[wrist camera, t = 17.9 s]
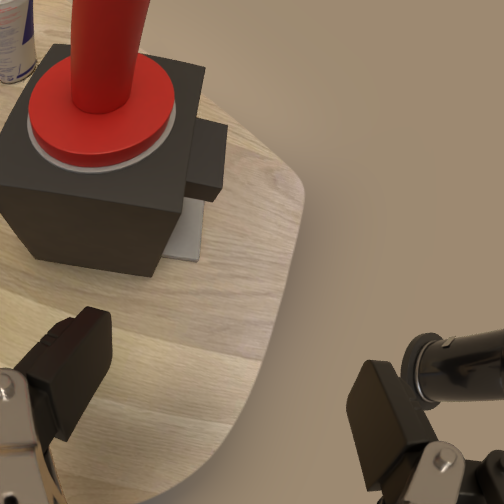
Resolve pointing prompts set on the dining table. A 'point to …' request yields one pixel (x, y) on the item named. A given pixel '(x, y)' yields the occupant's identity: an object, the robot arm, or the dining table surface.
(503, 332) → the robot arm
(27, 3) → the energy drink
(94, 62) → the red lid
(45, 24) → the dining table surface
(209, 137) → the coffee maker
